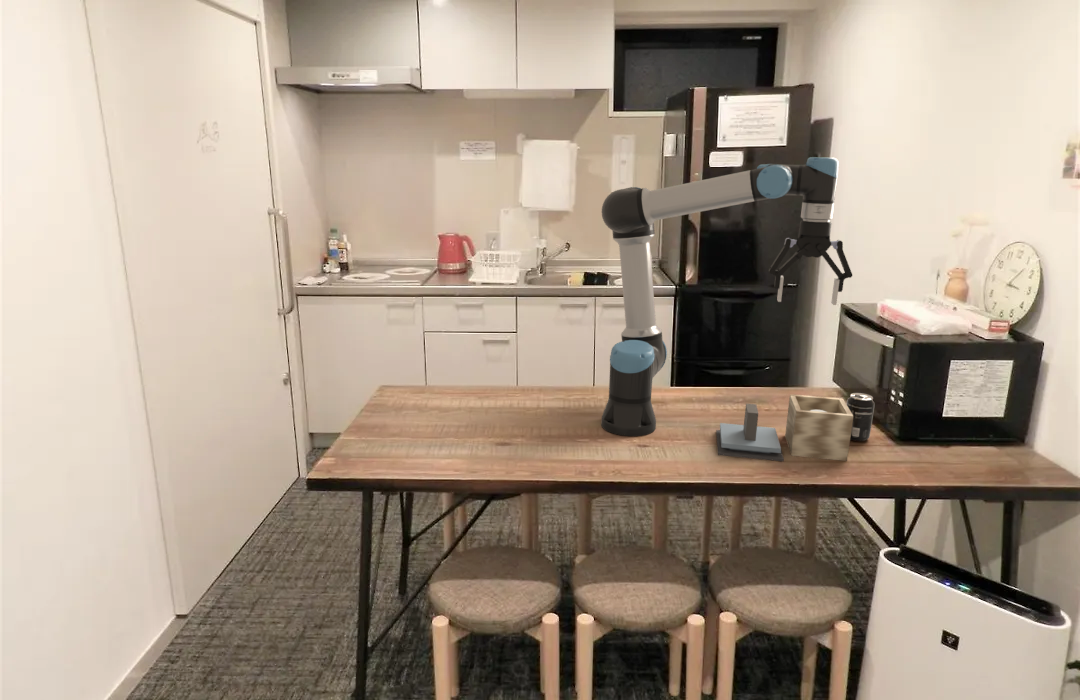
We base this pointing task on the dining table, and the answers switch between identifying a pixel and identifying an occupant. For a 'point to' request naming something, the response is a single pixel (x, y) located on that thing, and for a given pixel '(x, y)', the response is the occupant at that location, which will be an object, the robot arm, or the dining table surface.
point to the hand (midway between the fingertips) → (806, 302)
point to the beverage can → (861, 415)
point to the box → (818, 427)
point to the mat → (746, 452)
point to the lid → (749, 434)
